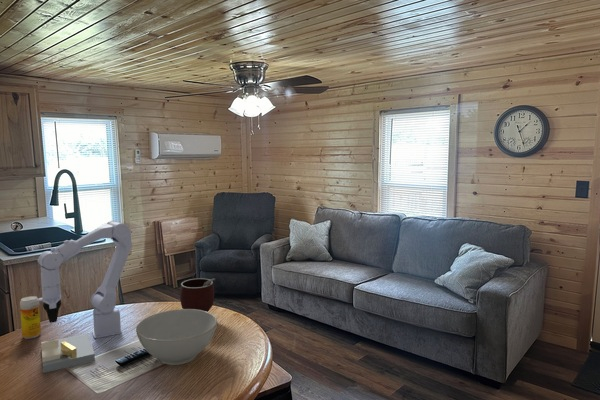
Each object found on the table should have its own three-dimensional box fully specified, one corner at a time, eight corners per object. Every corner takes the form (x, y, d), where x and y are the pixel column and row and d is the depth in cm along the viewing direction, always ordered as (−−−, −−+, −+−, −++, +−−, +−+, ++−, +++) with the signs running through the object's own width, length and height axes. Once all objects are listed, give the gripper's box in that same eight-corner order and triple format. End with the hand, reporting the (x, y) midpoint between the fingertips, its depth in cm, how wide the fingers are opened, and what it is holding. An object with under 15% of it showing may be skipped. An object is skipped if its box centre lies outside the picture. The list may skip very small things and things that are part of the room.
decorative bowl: (119, 367, 138) (117, 332, 136) (172, 334, 163) (171, 304, 161) (186, 384, 128) (185, 346, 127) (231, 346, 153) (231, 315, 151)
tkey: (77, 360, 137) (76, 347, 136) (71, 362, 135) (71, 349, 135) (66, 352, 142) (65, 340, 141) (60, 354, 140) (59, 342, 140)
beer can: (32, 340, 157) (29, 301, 155) (18, 338, 158) (15, 300, 156) (44, 333, 163) (42, 296, 161) (31, 331, 164) (29, 295, 162)
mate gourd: (173, 326, 170) (172, 278, 168) (193, 314, 183) (192, 270, 181) (206, 332, 165) (205, 283, 163) (224, 319, 178) (223, 273, 176)
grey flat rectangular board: (88, 339, 158) (88, 333, 157) (94, 360, 142) (94, 353, 142) (41, 349, 150) (41, 342, 149) (43, 373, 134) (42, 365, 134)
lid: (58, 348, 145) (58, 338, 145) (60, 358, 138) (59, 348, 138) (41, 351, 142) (41, 342, 142) (42, 362, 135) (41, 352, 135)
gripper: (37, 281, 152) (39, 317, 154) (38, 292, 140) (40, 331, 142) (59, 278, 156) (61, 313, 158) (62, 289, 144) (64, 326, 145)
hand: (53, 321), depth 150 cm, fingers closed
